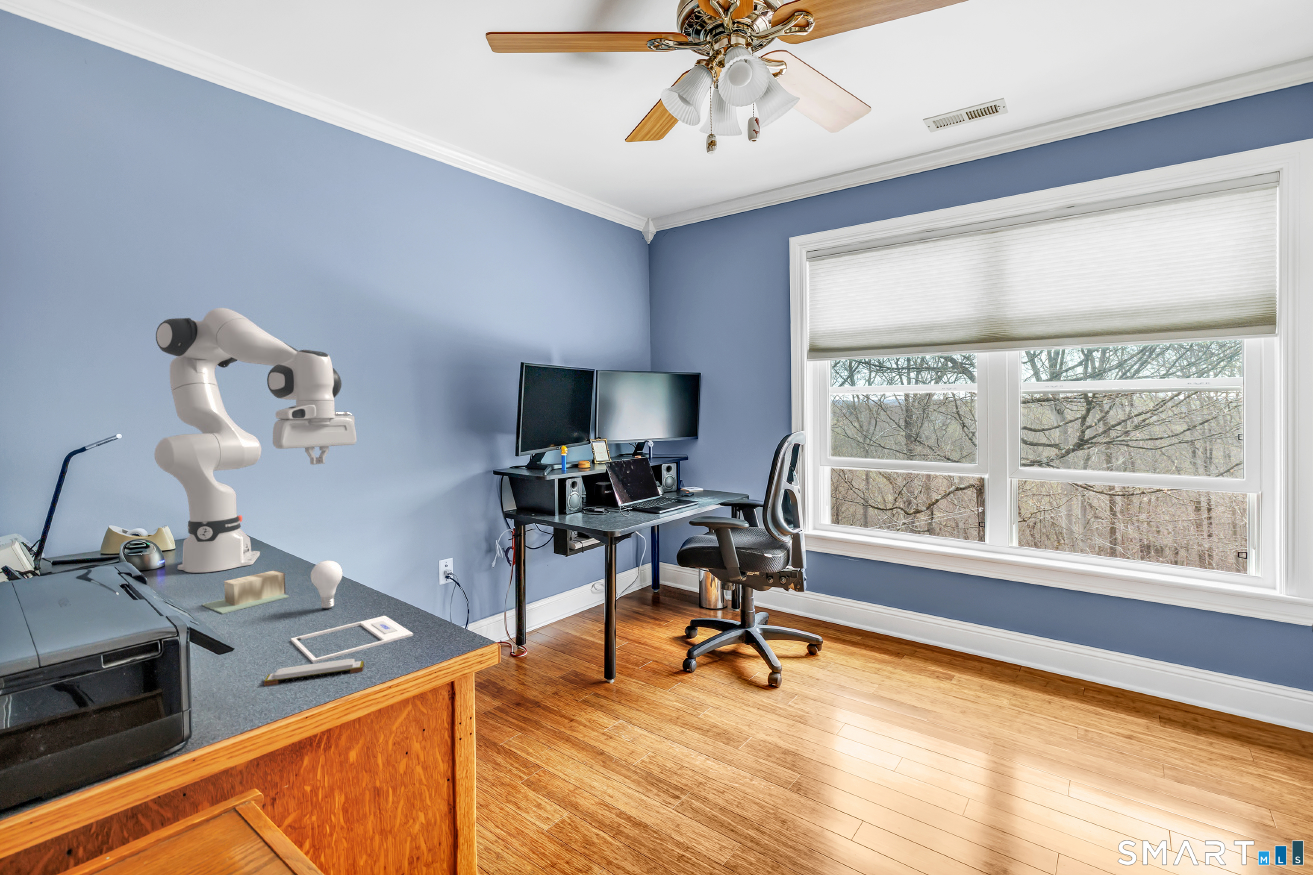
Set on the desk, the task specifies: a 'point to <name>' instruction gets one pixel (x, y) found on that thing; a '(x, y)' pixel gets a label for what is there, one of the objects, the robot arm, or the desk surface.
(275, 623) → the desk surface
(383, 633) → the photo frame
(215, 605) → the mat
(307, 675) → the harmonica
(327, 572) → the lightbulb
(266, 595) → the birch block
